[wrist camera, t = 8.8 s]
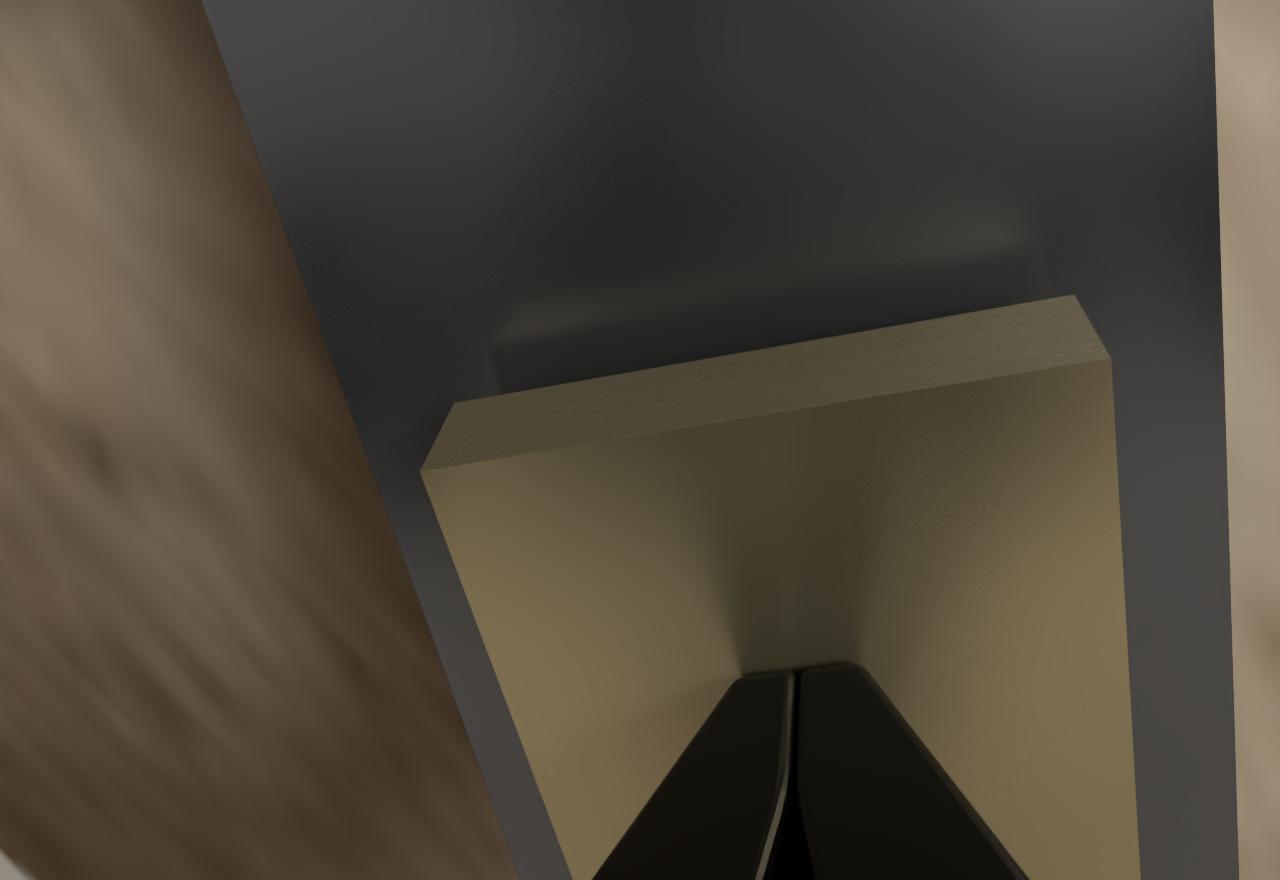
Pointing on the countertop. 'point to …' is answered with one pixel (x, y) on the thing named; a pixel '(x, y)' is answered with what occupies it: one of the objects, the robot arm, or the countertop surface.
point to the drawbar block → (767, 260)
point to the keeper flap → (815, 565)
